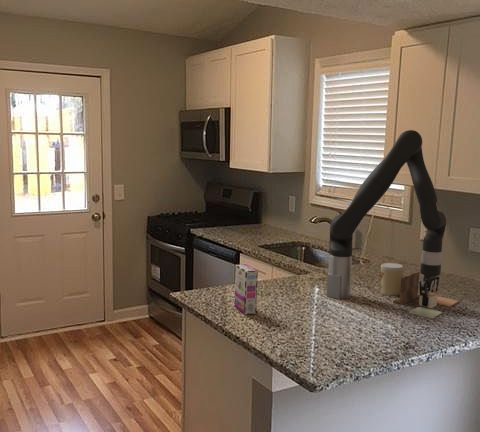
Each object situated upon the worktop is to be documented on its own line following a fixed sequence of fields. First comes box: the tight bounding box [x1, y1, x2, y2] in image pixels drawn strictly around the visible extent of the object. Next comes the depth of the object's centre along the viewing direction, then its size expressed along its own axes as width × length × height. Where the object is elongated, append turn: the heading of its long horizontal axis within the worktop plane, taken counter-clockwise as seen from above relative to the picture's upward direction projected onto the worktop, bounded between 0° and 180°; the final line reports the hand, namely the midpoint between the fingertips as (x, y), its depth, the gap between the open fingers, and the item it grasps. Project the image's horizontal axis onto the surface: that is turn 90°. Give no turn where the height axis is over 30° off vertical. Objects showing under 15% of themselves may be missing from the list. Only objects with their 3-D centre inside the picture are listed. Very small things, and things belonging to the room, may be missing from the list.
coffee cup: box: [380, 262, 404, 296], centre depth 221 cm, size 9×9×12 cm
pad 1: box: [408, 306, 443, 319], centre depth 196 cm, size 9×9×1 cm
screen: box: [392, 270, 420, 306], centre depth 211 cm, size 14×4×11 cm, turn 137°
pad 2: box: [437, 295, 460, 308], centre depth 210 cm, size 9×9×1 cm
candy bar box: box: [233, 264, 259, 316], centre depth 193 cm, size 11×5×16 cm, turn 21°
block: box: [418, 292, 438, 309], centre depth 205 cm, size 5×5×5 cm
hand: (427, 304), depth 205 cm, fingers closed on block, 5 cm apart
